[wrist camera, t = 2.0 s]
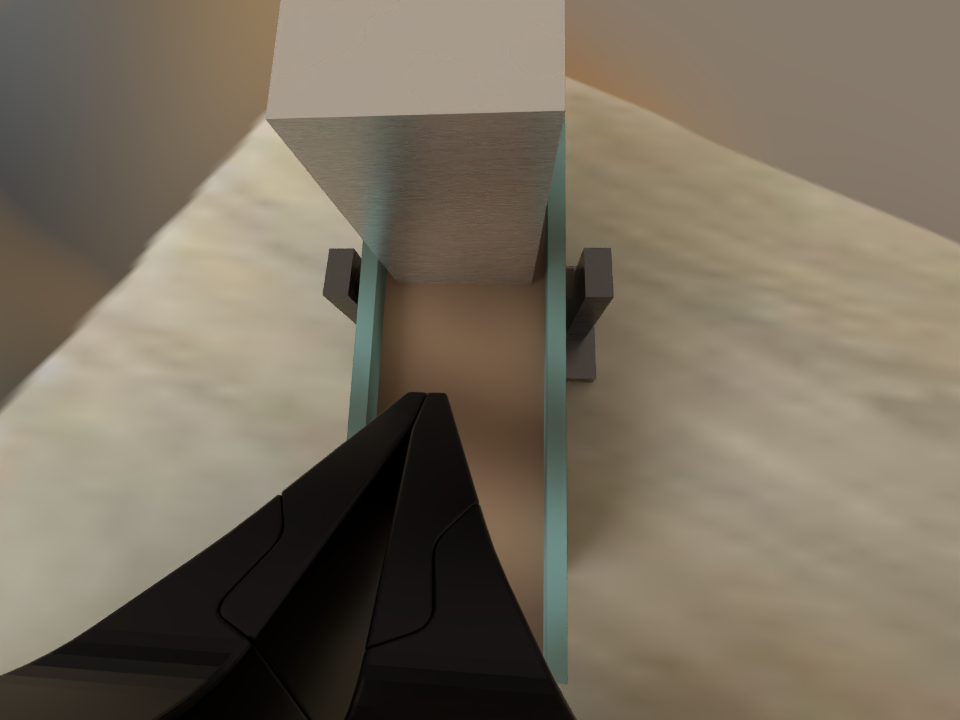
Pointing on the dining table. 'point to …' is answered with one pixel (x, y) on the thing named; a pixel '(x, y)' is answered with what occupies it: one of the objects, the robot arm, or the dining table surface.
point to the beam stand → (580, 310)
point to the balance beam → (489, 401)
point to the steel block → (428, 126)
